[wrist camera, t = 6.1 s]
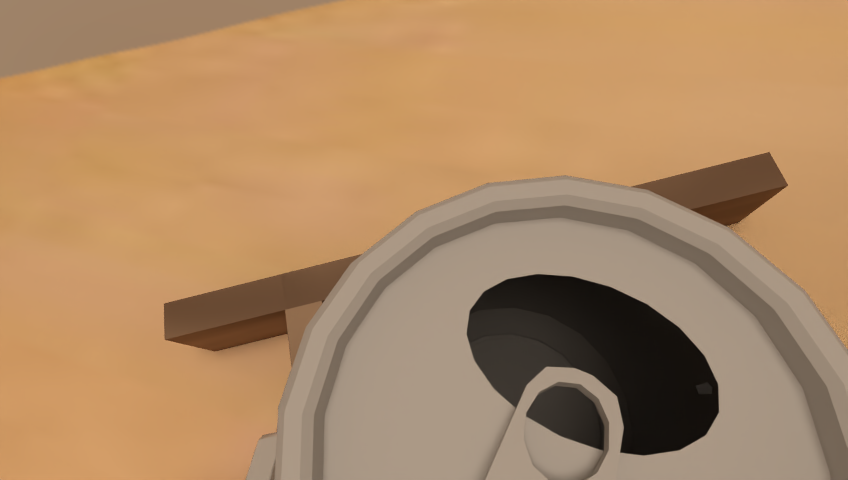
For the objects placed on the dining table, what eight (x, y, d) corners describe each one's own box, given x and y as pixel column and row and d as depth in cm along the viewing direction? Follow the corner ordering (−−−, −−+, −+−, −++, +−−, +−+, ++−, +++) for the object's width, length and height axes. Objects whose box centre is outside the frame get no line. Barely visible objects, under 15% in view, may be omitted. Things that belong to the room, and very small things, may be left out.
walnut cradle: (212, 320, 18) (163, 303, 15) (723, 193, 18) (769, 152, 15) (230, 632, 15) (170, 683, 12) (873, 486, 14) (970, 504, 11)
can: (652, 363, 16) (1055, 243, 5) (583, 603, 14) (1000, 1390, 3) (448, 281, 18) (390, 55, 7) (360, 484, 16) (58, 658, 5)
